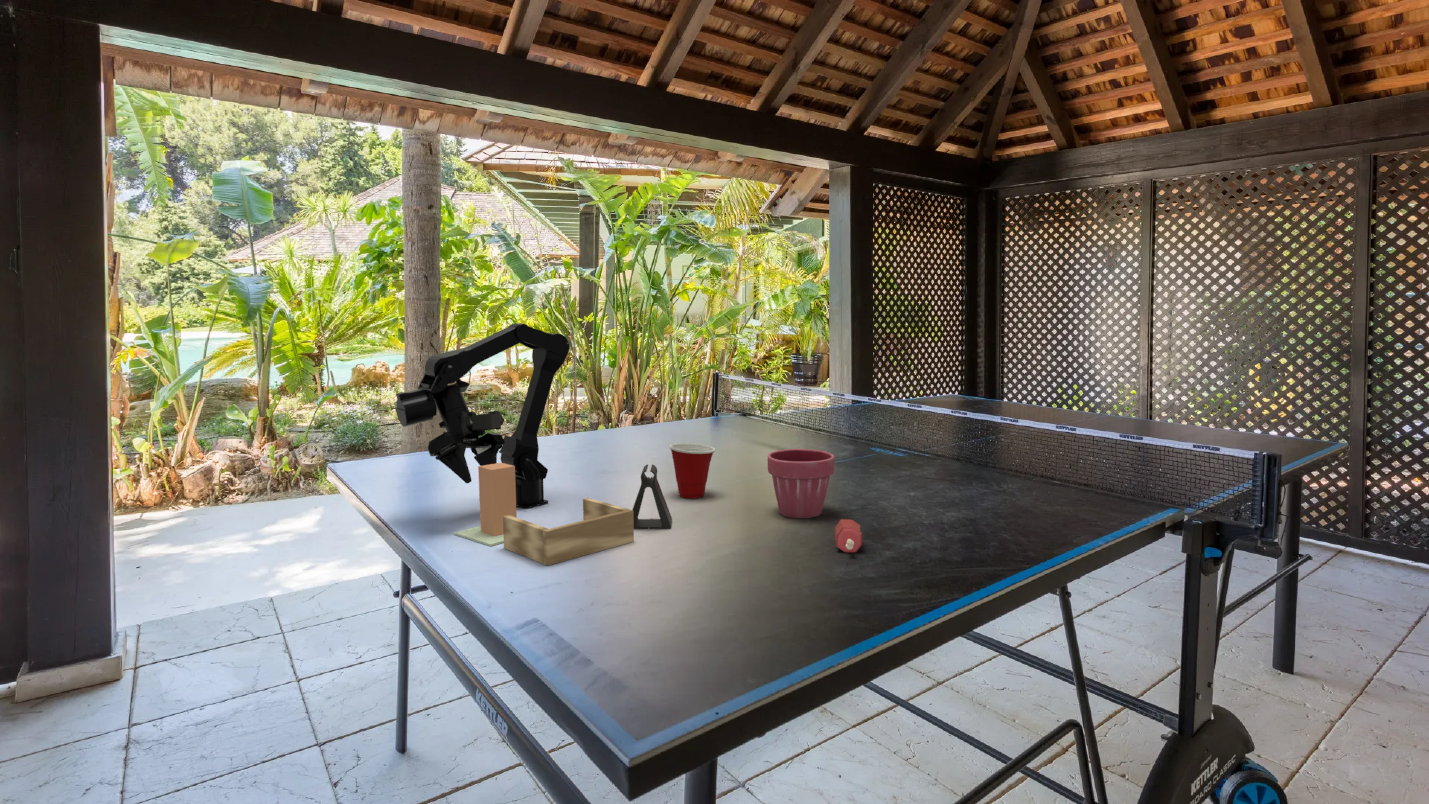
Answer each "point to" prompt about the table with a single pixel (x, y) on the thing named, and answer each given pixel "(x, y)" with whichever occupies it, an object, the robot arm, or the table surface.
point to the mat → (480, 536)
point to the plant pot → (800, 480)
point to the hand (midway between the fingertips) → (482, 481)
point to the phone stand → (660, 501)
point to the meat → (848, 536)
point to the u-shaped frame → (571, 534)
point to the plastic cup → (691, 468)
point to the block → (496, 496)
